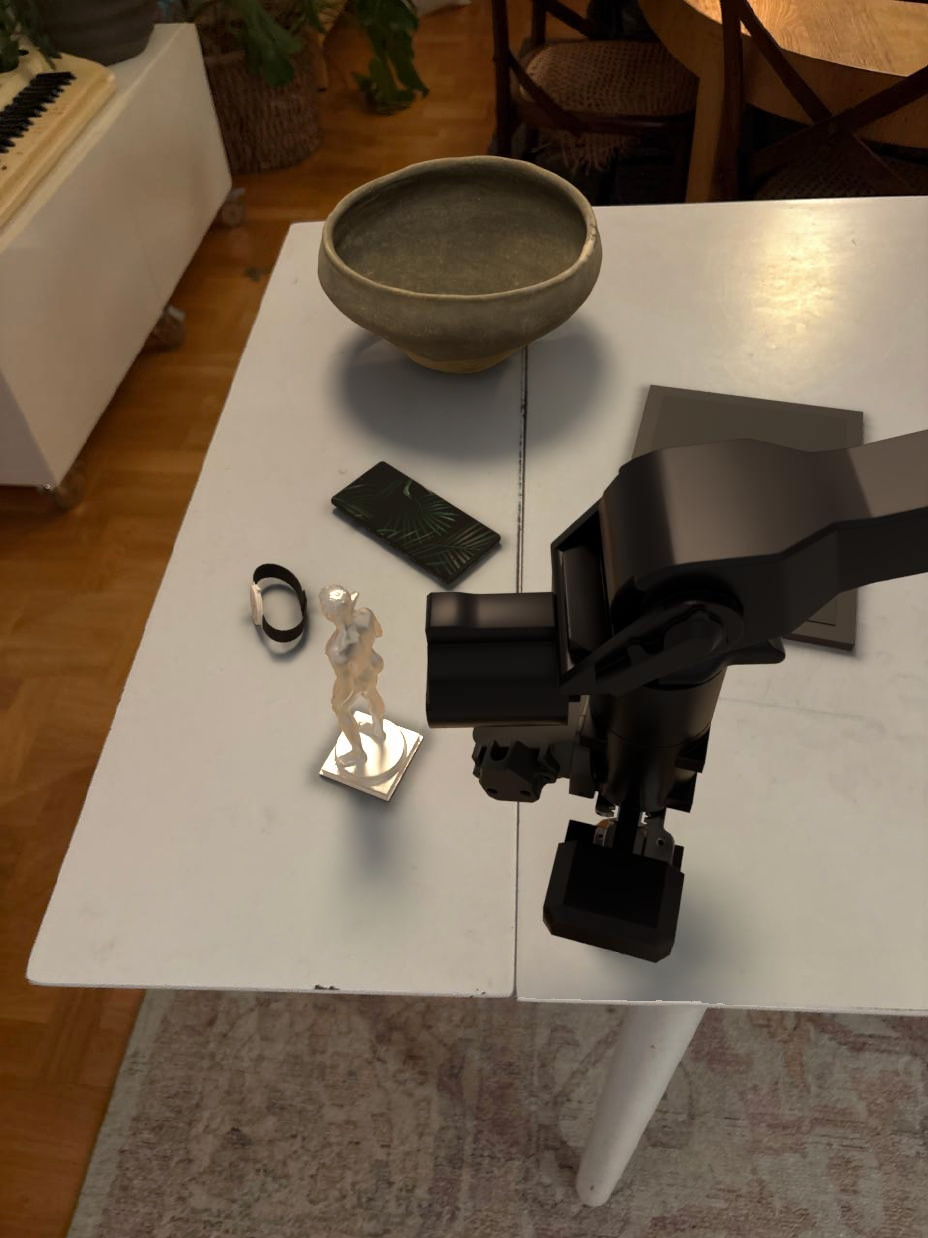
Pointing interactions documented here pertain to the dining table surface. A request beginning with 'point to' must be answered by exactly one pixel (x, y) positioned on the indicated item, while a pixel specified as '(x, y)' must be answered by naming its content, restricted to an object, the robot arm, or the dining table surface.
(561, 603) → the robot arm
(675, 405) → the tablet
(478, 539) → the smartphone
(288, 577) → the watch
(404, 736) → the figurine
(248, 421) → the dining table surface
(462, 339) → the bowl
